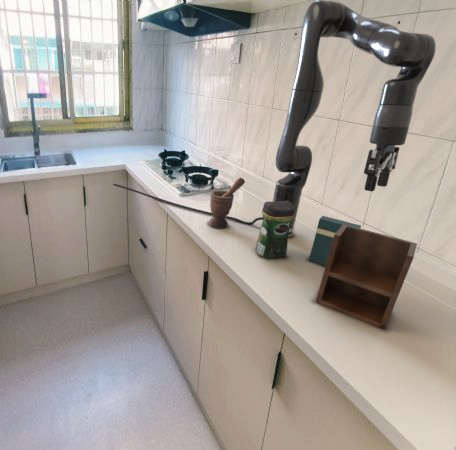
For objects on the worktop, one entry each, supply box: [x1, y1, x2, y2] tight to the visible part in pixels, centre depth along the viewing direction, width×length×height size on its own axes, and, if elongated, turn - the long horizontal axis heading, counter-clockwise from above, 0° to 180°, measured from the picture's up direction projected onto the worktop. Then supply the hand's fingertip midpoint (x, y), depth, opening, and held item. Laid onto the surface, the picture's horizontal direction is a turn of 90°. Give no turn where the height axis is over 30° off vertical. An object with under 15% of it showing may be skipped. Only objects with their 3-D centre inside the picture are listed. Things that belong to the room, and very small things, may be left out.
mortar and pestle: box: [208, 177, 246, 229], centre depth 131 cm, size 12×9×20 cm
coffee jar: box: [255, 201, 295, 259], centre depth 111 cm, size 10×8×19 cm
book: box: [308, 215, 362, 267], centre depth 106 cm, size 11×4×15 cm, turn 50°
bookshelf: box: [315, 224, 418, 331], centre depth 85 cm, size 16×9×20 cm, turn 50°
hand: (375, 188), depth 89 cm, fingers open, 8 cm apart
